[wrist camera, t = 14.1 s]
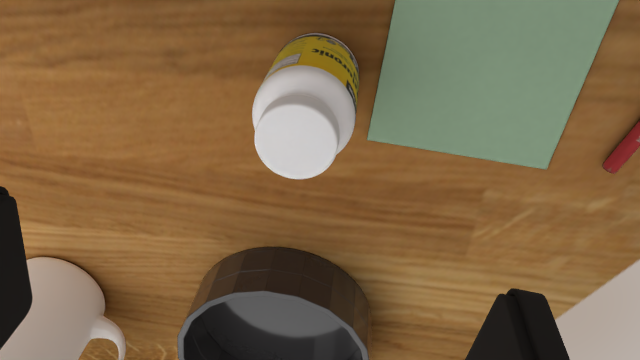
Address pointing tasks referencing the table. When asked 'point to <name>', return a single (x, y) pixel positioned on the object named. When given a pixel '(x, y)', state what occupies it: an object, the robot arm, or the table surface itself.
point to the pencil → (623, 150)
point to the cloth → (486, 75)
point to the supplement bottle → (306, 106)
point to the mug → (61, 315)
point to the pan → (277, 310)
